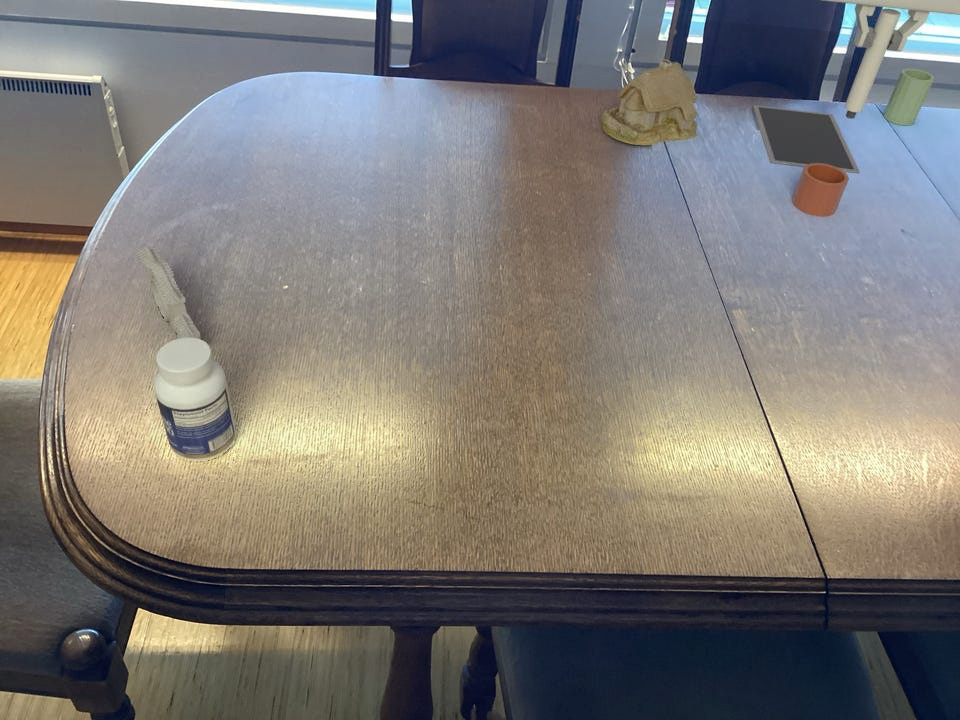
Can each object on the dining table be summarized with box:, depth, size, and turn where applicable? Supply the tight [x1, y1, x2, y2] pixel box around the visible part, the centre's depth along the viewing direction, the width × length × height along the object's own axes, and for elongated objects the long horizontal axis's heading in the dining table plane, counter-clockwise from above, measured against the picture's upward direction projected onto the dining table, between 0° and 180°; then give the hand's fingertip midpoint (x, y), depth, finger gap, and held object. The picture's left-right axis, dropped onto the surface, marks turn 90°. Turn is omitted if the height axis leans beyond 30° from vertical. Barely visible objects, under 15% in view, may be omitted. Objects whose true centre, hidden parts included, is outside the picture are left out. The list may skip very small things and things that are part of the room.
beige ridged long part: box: [137, 245, 202, 340], centre depth 77 cm, size 12×2×6 cm, turn 33°
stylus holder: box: [791, 163, 850, 218], centre depth 102 cm, size 5×5×5 cm
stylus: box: [844, 8, 901, 120], centre depth 92 cm, size 2×2×12 cm
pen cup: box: [882, 67, 935, 126], centre depth 124 cm, size 5×5×7 cm
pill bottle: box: [153, 337, 237, 461], centre depth 65 cm, size 5×5×10 cm
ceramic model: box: [600, 58, 698, 146], centre depth 114 cm, size 14×11×10 cm
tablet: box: [751, 104, 861, 175], centre depth 118 cm, size 12×18×1 cm, turn 173°
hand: (876, 47), depth 90 cm, fingers closed on stylus, 2 cm apart
